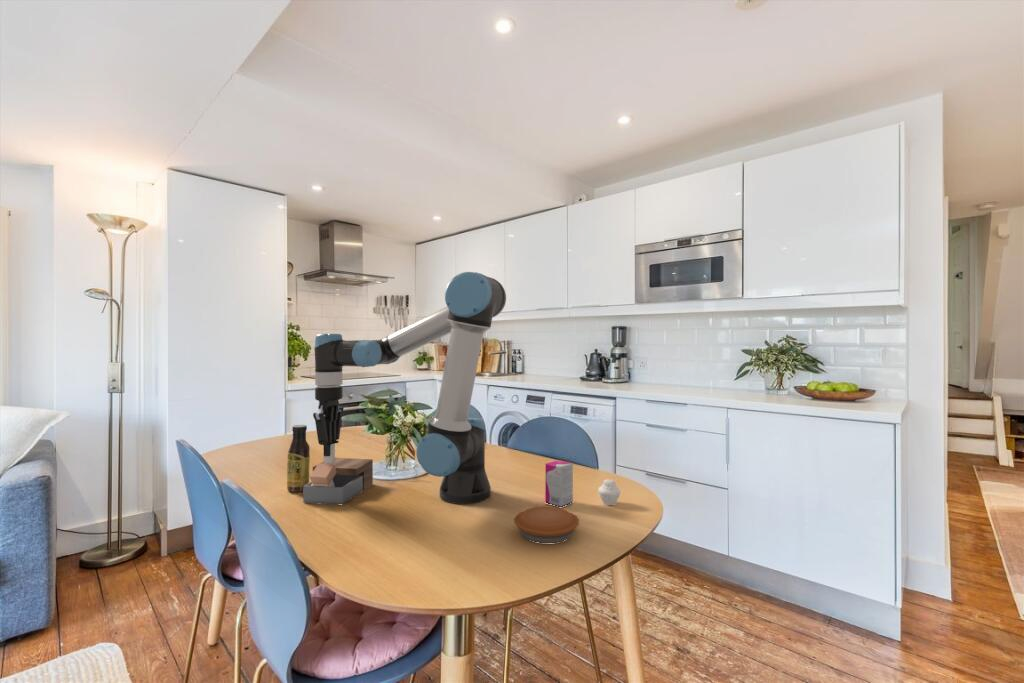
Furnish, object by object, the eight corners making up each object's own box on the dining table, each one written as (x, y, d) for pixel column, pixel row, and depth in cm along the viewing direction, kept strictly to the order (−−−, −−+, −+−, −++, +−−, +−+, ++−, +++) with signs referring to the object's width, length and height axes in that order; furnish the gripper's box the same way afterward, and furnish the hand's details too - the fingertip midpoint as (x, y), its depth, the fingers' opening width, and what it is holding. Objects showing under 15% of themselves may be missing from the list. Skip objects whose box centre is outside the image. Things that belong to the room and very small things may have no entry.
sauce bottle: (282, 491, 144) (281, 426, 144) (298, 485, 150) (298, 423, 150) (298, 494, 142) (298, 428, 141) (314, 487, 147) (314, 424, 147)
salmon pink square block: (336, 472, 138) (334, 464, 136) (328, 485, 134) (326, 477, 132) (321, 471, 139) (318, 463, 137) (312, 484, 134) (309, 476, 133)
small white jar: (623, 502, 134) (623, 478, 134) (615, 509, 129) (615, 483, 129) (603, 498, 137) (603, 474, 137) (594, 504, 132) (594, 479, 132)
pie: (514, 521, 120) (514, 502, 120) (575, 522, 120) (575, 502, 120) (512, 548, 105) (512, 526, 105) (582, 549, 105) (582, 527, 105)
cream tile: (331, 478, 136) (327, 485, 133) (336, 490, 138) (331, 498, 136) (315, 477, 137) (310, 485, 134) (320, 489, 139) (315, 497, 136)
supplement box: (573, 503, 133) (573, 463, 133) (560, 509, 129) (560, 467, 129) (557, 498, 137) (557, 459, 137) (544, 503, 133) (544, 463, 133)
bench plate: (372, 484, 151) (372, 459, 151) (356, 495, 140) (356, 468, 140) (332, 482, 153) (331, 457, 153) (312, 493, 142) (312, 466, 142)
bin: (362, 491, 144) (362, 475, 144) (342, 505, 132) (342, 488, 132) (326, 489, 146) (326, 473, 146) (303, 502, 134) (303, 486, 134)
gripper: (328, 383, 145) (329, 460, 145) (304, 388, 132) (304, 472, 132) (351, 384, 144) (352, 461, 144) (328, 388, 131) (329, 473, 131)
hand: (329, 466), depth 138 cm, fingers closed
